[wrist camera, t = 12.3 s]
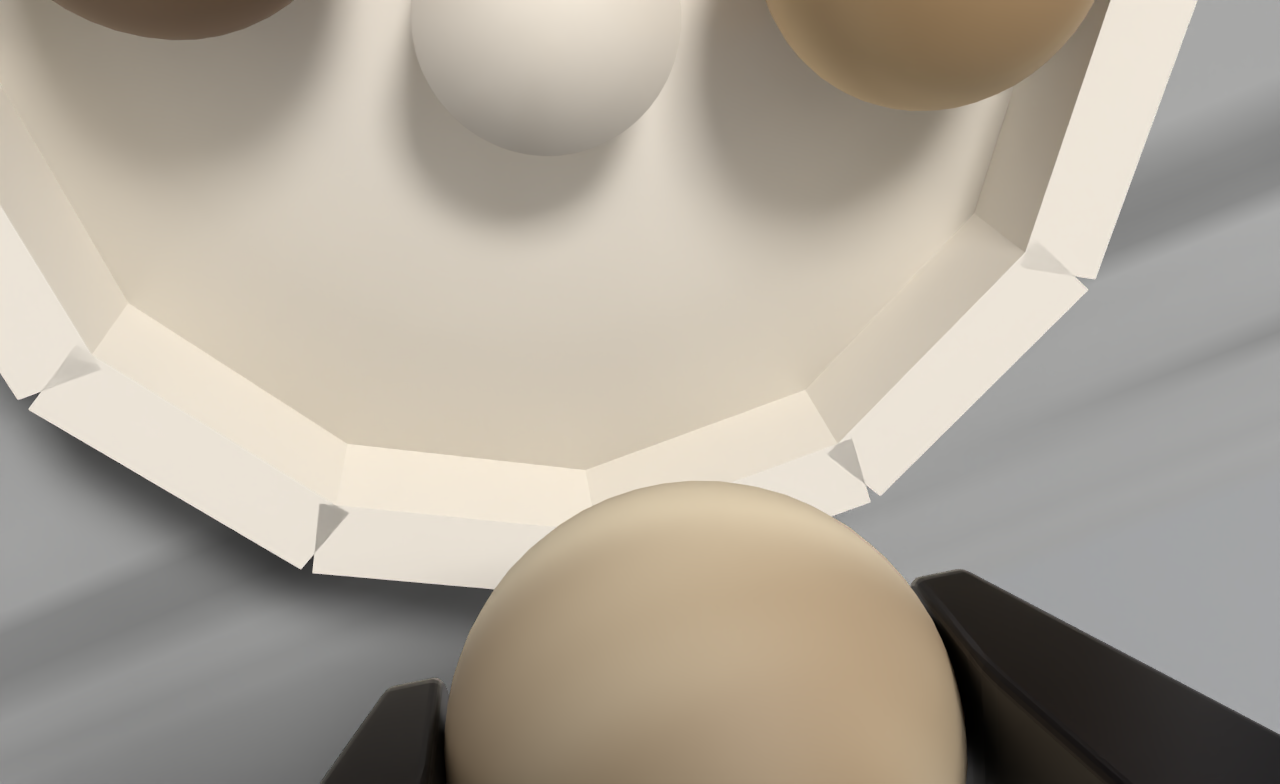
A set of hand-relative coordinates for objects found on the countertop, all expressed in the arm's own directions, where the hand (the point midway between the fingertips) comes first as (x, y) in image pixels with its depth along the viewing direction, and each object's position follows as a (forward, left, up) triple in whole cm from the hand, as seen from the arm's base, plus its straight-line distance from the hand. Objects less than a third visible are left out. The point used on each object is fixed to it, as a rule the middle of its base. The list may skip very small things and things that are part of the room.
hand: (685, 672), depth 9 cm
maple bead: (0, 0, +1) cm, 1 cm away
